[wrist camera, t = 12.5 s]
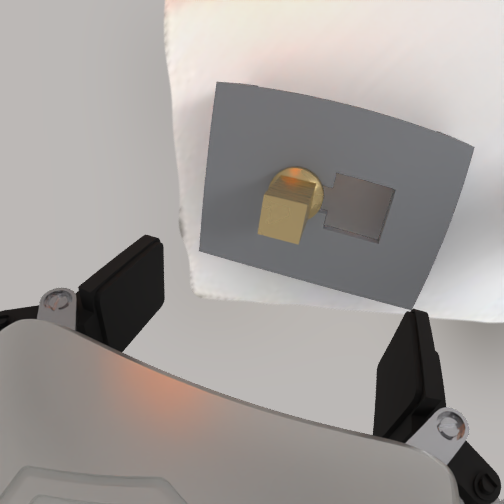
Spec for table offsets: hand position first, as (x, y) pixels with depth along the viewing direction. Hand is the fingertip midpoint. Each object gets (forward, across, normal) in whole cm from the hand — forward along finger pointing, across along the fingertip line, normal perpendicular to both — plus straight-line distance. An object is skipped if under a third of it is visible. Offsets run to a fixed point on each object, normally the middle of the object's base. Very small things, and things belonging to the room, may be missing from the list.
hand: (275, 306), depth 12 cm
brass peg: (+25, +2, +2) cm, 25 cm away
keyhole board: (+26, 0, +2) cm, 27 cm away
